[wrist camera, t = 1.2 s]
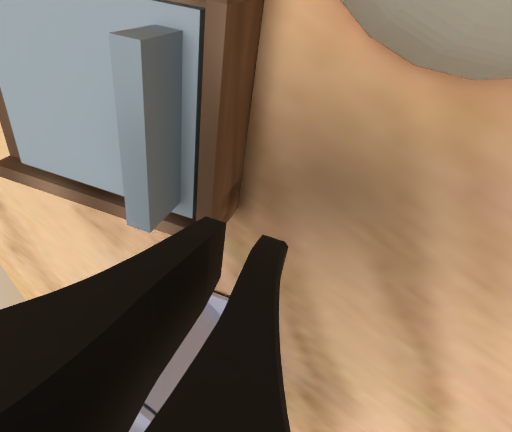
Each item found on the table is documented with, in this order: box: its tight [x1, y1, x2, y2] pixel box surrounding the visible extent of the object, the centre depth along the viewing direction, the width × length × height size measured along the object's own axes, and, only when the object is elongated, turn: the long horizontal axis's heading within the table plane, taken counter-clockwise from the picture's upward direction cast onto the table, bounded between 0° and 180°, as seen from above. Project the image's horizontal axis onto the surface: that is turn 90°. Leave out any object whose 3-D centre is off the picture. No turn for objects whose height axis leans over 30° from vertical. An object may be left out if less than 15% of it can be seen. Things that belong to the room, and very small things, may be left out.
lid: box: [0, 0, 205, 233], centre depth 16 cm, size 11×10×4 cm
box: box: [0, 0, 264, 235], centre depth 18 cm, size 14×12×4 cm
